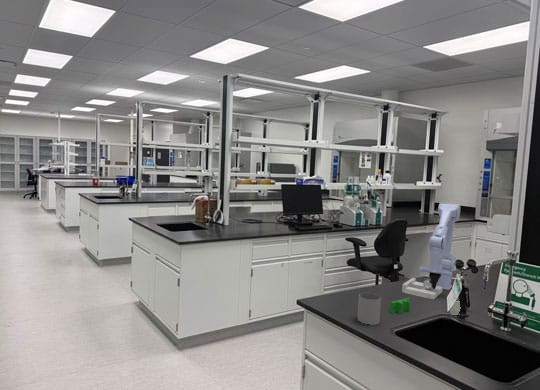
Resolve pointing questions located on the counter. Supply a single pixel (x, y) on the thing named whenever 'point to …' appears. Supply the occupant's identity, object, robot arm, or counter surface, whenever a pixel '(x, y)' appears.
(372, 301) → the cup
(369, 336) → the counter surface
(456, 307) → the valve
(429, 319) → the counter surface
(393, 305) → the pipe clamp
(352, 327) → the counter surface
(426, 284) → the ball
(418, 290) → the deck
